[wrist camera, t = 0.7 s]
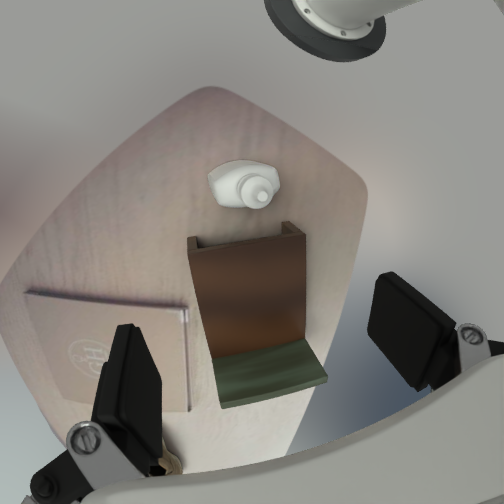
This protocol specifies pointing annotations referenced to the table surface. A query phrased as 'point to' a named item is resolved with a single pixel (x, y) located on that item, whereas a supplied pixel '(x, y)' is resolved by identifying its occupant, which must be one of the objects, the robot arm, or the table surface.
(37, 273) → the table surface
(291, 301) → the shelf
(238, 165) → the eye dropper bottle
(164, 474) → the slip on shoe
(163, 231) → the table surface
